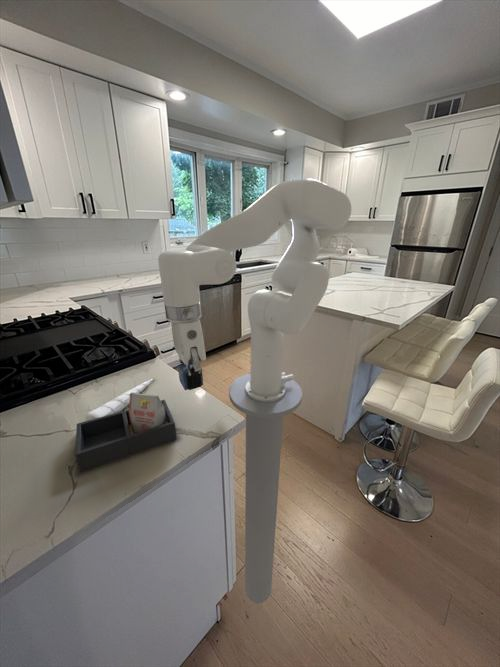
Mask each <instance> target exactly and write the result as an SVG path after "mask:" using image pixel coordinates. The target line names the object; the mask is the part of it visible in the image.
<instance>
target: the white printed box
mask: <svg viewBox="0 0 500 667" xmlns="http://www.w3.org/2000/svg"><path fill="white" fill-rule="evenodd" d="M128 409H129V417H130V422H131V427H132V433H138V432H141V431H144V430H148V429H151V428H154V427H157V426H160V425H163V424H166V417H165V409H164V405H163V404H162V402H161V399H160V397H159V395H153V394H145V393H132V392H131V393H130V403H129V404H128Z"/></svg>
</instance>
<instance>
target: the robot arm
mask: <svg viewBox="0 0 500 667" xmlns="http://www.w3.org/2000/svg"><path fill="white" fill-rule="evenodd" d="M351 214H352V203H351V200H350V198H349V197H348V195H347V194H346V193H344V192H343V191H340V190H338V189H336V188H335V187H333V186H331V185H329V184H326V183H324V182H323V181H320V180H318V179H315V178H301V179H291V180H284V181H281V182H278V183H276V184H275V185H273V186H272V187H271V188H269V189H268V190H267V191H265V193H263V194H262V195H261V196H260V197H259V198H257V199H256V200H255V201H254V202H252V204H250V205H249V206H247V208H245V209H244V210H243V211H241V212H239V213H237V214H235V215H233V216H231V217H229V218H227V219H226V220H224V221H222V222H220V223H218V224H217V225H215V226H213V227H211V228H209V229H207V230H206V231H205V232H203V233H202V234H201V235H199V236H198V237H197V238H195V240H193V241H192V242H191V243H190V244H189V245H188V246H187V247H185V249H175V250H173V249H172V250H166V251H163V252H161V253H160V254H159V255H158V258H157V261H158V269H159V277H160V283H161V289H162V290H161V291H162V297H163V298H162V299H163V306H164V312H165V313H164V314H165V320H166V321H168V322H170V323H171V333H172V334H171V335H172V341H173V347H174V351H175V352H176V354H177V355H178V359H179V364H186V368H187V373H188V374H186V377H187V386H188V391H192V390H194V389H198V388H201V387H202V386H203V385H202V383H201V371H200V370H201V368H202V366H201V363H200V361H201V362H205V361H206V360H207V355H206V347H205V339H204V333H203V328H202V324H201V320H200V319H201V318H202V317H203V316H202V315H203V314H202V306H201V304H202V303H201V292H200V286H202V285H203V286H204V285H205V286H207V285H222V284H225V283H228V282H229V281H231V279H232V278H233V277H234V276H235V275H236V271H237V261H236V259H235V257H234V255H233V254H232V252H236V251H239V250H243V249H248V248H252V247H257V246H259V245H262V244H264V243H266V242H267V241H268V240H269V239H270V238H272V236H273V235H275V234H276V233H277V232H278V231H279V230H280V229H281V228H282V227H283V226H284V225H286V224H287V223H288V222H289V221H291V226H292V238H291V242H290V244H289V246H288V247H287V249H286V251H285V252H284V254H283V256H282V257H281V259H280V260H279V262H278V263H277V265H276V267H275V268H274V270H273V272H272V274H271V284H272V286H273V287H274V288H275V289H277V291H275V290H270V289H260V290H257V291H255V292H254V293H253V294H252V295H251V296H250V298H249V300H248V303H247V316H248V321H249V327H250V381H249V382H247V384H246V386H245V391H246V394H247V395H248V396H249V397H250V398H252V399H254V400H257V401H261V402H273V401H277V400H279V399H281V398H282V397H283V396H284V395H285V392H286V387H285V385H284V384H285V383H286V382H287V381H291V380H294V381H295V376H294V374H293V373H290V374H287V373H286V372H285V371H284V372H283V360H284V359H283V358H284V346H285V345H284V344H285V338H284V334H286V335H290V336H291V335H297V334H299V333H300V332H301V331H302V330H303V329H304V328H305V327H306V326H307V324H308V322H309V321H310V319H311V317H312V316H313V314H314V313H315V311H316V309H317V307H318V306H319V304H320V302H322V299H323V297H324V295H325V293H326V291H327V290H328V286H329V282H330V281H329V280H330V275H329V271H328V269H327V267H326V266H325V265H324V264H322V263H320V262H317V261H316V260H317V259H318V257H319V254H320V249H321V248H320V242H319V239H318V236H317V230H339V229H341V228H343V227H345V225H346V224H347V223H348V222H349V220H350V218H351ZM316 229H317V230H316ZM278 291H280V292H278ZM284 293H286V294H284ZM192 364H193V367H192V368H191V369H190V365H192Z"/></svg>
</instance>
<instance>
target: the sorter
mask: <svg viewBox="0 0 500 667" xmlns="http://www.w3.org/2000/svg"><path fill="white" fill-rule="evenodd" d="M160 401H161V402H162V404H163V405H164V409H165V417H166V424H163V425H160V426H157V427H154V428H151V429H148V430H144V431H141V432H138V433H132V427H131V422H130V417H129V408H128V409H125V410H124V409H123V410H122V411H121V412H117V413H114V414H110V415H107V416H103V417H99V418H96V419H92V420H88V421H85V420H84V421H82V422H78V423H76V432H75V452H74V455H75V459H76V461H77V466H78V468H79V472H80V473H82V472H85V471H89V470H91V469H94V468H97V467H100V466H102V465H106V464H108V463H112V462H114V461H117V460H120V459H122V458H123V459H124V458H126V457H129V456H132V455H134V454H137V453H141V452H143V451H146V450H149V449H152V448H154V447H158V446H160V445H164V444H166V443H169V442H172V441H175V440H177V439H178V437H177V428H176V422H175V420H174V418H173V415H172V413H171V410H170V408H169V406H168V403H167V401H166V399H160Z"/></svg>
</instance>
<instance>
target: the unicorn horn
mask: <svg viewBox="0 0 500 667" xmlns="http://www.w3.org/2000/svg"><path fill="white" fill-rule="evenodd" d="M152 382H153V378H150V379H148V380H146V381H143V382H142V383H140V384H138V385H137V386H134V387H132V388H131V389H129V390H127V391H125V392H123V393H122V394H120V395H118V396H115V397H114V398H113V399H111V400H109V401H108V402H105V403H103V404H102V405H100V406H99V407H97V408H94V409H93V410H91V411H89V412H88V413H86V414H85V417H84V422H85V421H88V420H92V419H96V418H99V417H103V416H107V415H110V414H114V413H117V412H121V411H124V409H125V408H126V407H127V406H129V404H130V393H131V392H132V393H139V394H142V392H143V391H144V390H145V389H146V388H147V387H148V386H149V385H150V384H151V383H152Z"/></svg>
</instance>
